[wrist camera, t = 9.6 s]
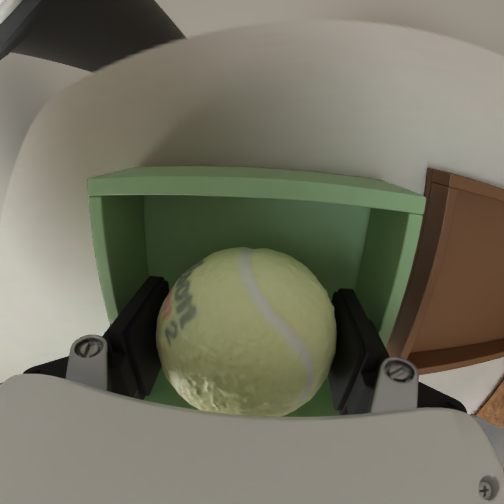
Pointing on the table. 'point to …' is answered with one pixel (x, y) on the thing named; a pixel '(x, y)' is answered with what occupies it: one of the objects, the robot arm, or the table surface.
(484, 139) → the table surface
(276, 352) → the tennis ball
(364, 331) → the robot arm
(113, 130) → the table surface
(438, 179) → the walnut tray
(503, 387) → the bread
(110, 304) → the green bin
